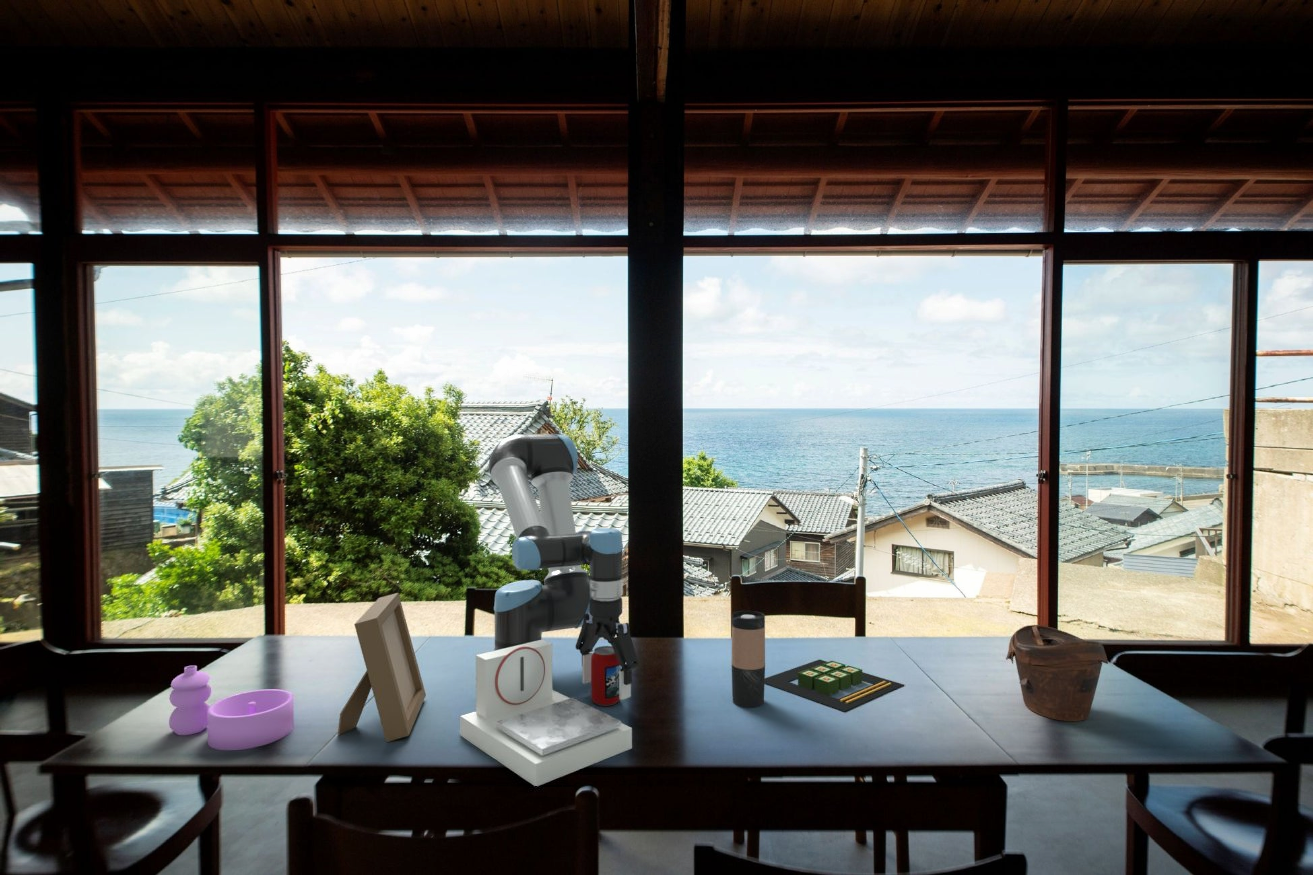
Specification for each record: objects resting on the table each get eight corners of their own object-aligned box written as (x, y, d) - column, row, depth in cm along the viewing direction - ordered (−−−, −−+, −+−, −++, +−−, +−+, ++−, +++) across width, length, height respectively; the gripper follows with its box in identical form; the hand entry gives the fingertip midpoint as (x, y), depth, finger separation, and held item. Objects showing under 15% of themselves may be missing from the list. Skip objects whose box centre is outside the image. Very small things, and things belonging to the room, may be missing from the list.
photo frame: (426, 699, 163) (423, 591, 162) (408, 740, 141) (406, 616, 141) (358, 704, 160) (355, 594, 160) (330, 746, 139) (327, 620, 138)
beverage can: (616, 708, 157) (616, 655, 157) (587, 706, 159) (587, 653, 159) (623, 697, 164) (623, 645, 164) (596, 695, 165) (595, 644, 165)
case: (1020, 686, 171) (1021, 613, 170) (1117, 710, 156) (1118, 630, 156) (992, 708, 158) (993, 629, 158) (1094, 736, 144) (1095, 649, 143)
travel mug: (769, 698, 163) (769, 612, 163) (759, 710, 156) (759, 620, 156) (737, 693, 166) (737, 608, 166) (726, 704, 160) (726, 616, 159)
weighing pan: (496, 727, 137) (496, 721, 137) (572, 703, 149) (572, 697, 149) (542, 755, 125) (542, 748, 125) (620, 726, 137) (620, 720, 137)
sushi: (844, 715, 155) (844, 698, 155) (758, 684, 174) (758, 669, 174) (904, 688, 172) (904, 672, 172) (819, 662, 191) (819, 648, 191)
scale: (460, 735, 144) (460, 652, 143) (550, 706, 158) (550, 631, 158) (535, 786, 123) (535, 690, 123) (631, 748, 138) (631, 662, 138)
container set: (309, 720, 151) (308, 659, 151) (261, 752, 136) (260, 684, 136) (202, 714, 154) (201, 654, 154) (143, 745, 139) (143, 679, 139)
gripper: (560, 590, 168) (561, 679, 168) (628, 610, 149) (628, 709, 150) (586, 585, 173) (586, 671, 173) (654, 604, 155) (654, 700, 155)
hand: (606, 689), depth 161 cm, fingers open, 13 cm apart
